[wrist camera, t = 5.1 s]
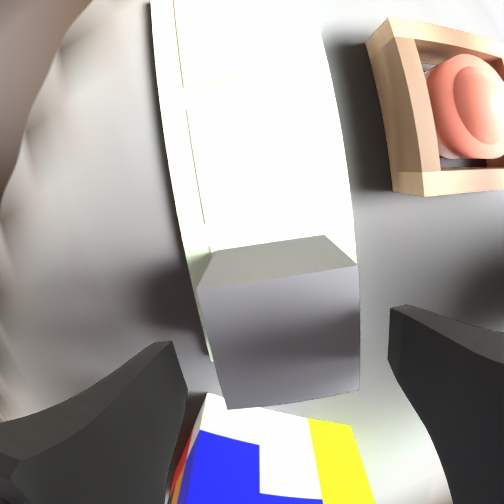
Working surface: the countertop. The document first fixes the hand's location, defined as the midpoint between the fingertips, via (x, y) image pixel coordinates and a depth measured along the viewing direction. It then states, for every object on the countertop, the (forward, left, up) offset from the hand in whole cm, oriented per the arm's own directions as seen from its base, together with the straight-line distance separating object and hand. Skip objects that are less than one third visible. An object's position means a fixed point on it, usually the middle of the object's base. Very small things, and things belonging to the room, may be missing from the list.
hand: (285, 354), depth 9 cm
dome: (-11, -8, -6) cm, 14 cm away
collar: (-11, -8, -6) cm, 15 cm away
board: (0, -6, -6) cm, 9 cm away
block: (0, 0, -5) cm, 5 cm away
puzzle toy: (+3, +13, -6) cm, 15 cm away
